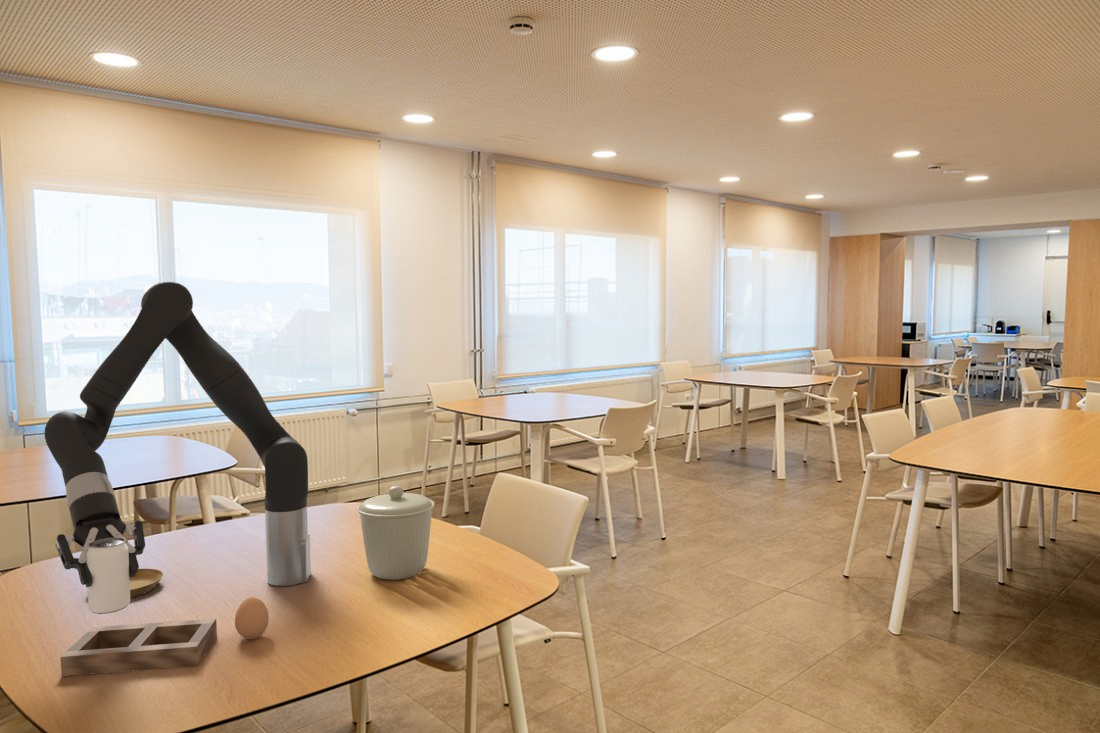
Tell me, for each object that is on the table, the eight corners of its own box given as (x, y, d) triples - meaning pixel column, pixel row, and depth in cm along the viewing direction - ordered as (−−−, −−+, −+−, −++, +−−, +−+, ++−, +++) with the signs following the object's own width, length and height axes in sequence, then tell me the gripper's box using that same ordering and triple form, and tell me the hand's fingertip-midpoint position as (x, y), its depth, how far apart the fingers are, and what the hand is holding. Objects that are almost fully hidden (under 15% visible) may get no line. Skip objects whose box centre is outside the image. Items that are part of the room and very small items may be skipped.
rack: (216, 636, 141) (216, 618, 141) (197, 665, 129) (196, 646, 129) (93, 645, 138) (92, 627, 137) (61, 676, 126) (60, 656, 125)
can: (100, 617, 127) (97, 550, 127) (81, 609, 131) (78, 543, 130) (137, 605, 133) (135, 540, 132) (118, 597, 136) (116, 534, 135)
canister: (381, 593, 162) (379, 499, 161) (345, 571, 176) (343, 485, 174) (450, 573, 174) (449, 486, 173) (411, 555, 188) (409, 474, 186)
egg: (258, 646, 137) (256, 605, 136) (229, 643, 138) (227, 603, 137) (275, 632, 143) (274, 592, 142) (247, 630, 144) (245, 591, 143)
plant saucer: (131, 605, 157) (130, 593, 157) (72, 601, 159) (71, 589, 159) (178, 581, 171) (177, 570, 171) (123, 577, 174) (122, 566, 174)
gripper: (49, 497, 131) (67, 579, 123) (138, 484, 141) (160, 559, 133) (44, 520, 135) (61, 601, 127) (131, 506, 145) (152, 580, 137)
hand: (111, 579), depth 130 cm, fingers closed on can, 6 cm apart
